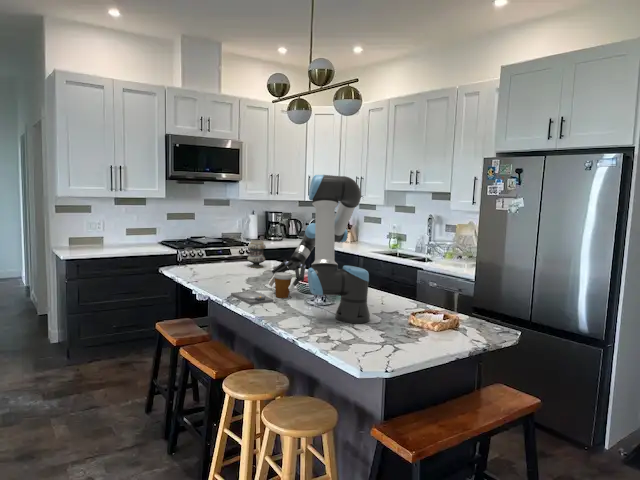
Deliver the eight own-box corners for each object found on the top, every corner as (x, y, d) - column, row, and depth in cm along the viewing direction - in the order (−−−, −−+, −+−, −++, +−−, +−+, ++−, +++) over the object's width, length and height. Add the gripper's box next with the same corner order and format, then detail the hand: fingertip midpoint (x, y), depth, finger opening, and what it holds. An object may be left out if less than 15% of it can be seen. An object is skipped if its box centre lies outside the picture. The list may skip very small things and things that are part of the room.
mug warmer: (231, 295, 244) (231, 289, 243) (253, 293, 251) (253, 287, 251) (250, 304, 228) (250, 298, 228) (273, 301, 236) (274, 295, 235)
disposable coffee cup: (288, 299, 242) (289, 276, 240) (270, 297, 244) (271, 274, 242) (293, 295, 251) (294, 273, 250) (275, 293, 253) (277, 271, 252)
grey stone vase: (258, 264, 335) (260, 239, 333) (268, 268, 326) (269, 241, 324) (243, 266, 328) (244, 239, 326) (253, 269, 319) (254, 242, 317)
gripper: (321, 263, 250) (301, 296, 240) (285, 257, 265) (265, 287, 255) (316, 254, 245) (295, 287, 235) (279, 248, 260) (258, 278, 250)
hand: (279, 287), depth 245 cm, fingers open, 13 cm apart
